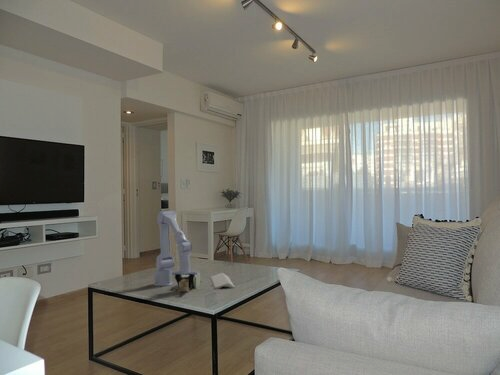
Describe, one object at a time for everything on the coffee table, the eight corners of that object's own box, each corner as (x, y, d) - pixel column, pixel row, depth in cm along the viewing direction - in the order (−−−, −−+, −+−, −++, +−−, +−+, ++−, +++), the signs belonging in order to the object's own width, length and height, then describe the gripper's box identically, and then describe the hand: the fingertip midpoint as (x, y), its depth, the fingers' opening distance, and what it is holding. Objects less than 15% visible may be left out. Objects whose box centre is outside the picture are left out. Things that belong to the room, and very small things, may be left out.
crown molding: (209, 278, 228) (209, 273, 228) (228, 277, 231) (228, 272, 231) (214, 290, 200) (214, 283, 200) (235, 289, 202) (235, 282, 202)
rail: (175, 297, 184) (175, 297, 184) (190, 283, 214) (190, 283, 214) (181, 297, 184) (181, 297, 184) (195, 283, 214) (195, 283, 214)
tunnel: (179, 288, 202) (178, 276, 203) (183, 284, 212) (183, 272, 212) (196, 288, 201) (196, 276, 202) (200, 284, 211) (200, 272, 212)
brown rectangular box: (179, 291, 194) (178, 282, 194) (185, 285, 206) (185, 277, 206) (188, 291, 194) (188, 282, 194) (193, 286, 206) (193, 277, 206)
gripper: (169, 264, 194) (169, 289, 193) (195, 264, 192) (195, 290, 192) (173, 262, 201) (173, 286, 200) (198, 262, 199) (199, 286, 199)
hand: (184, 288), depth 196 cm, fingers closed on brown rectangular box, 5 cm apart
